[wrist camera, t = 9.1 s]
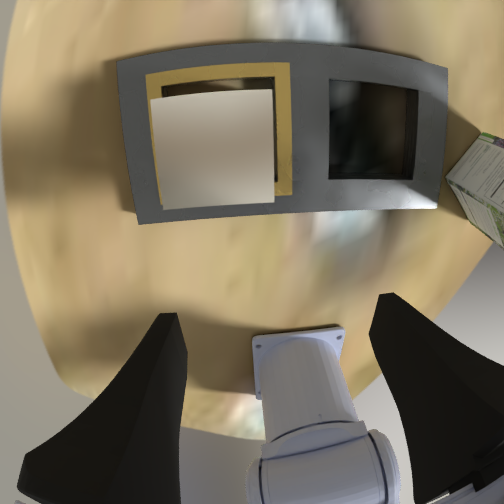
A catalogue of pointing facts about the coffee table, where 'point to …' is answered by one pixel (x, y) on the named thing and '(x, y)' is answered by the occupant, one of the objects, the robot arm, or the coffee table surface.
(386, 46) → the coffee table surface
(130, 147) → the rail
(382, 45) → the coffee table surface
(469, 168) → the syrup box
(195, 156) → the peg
